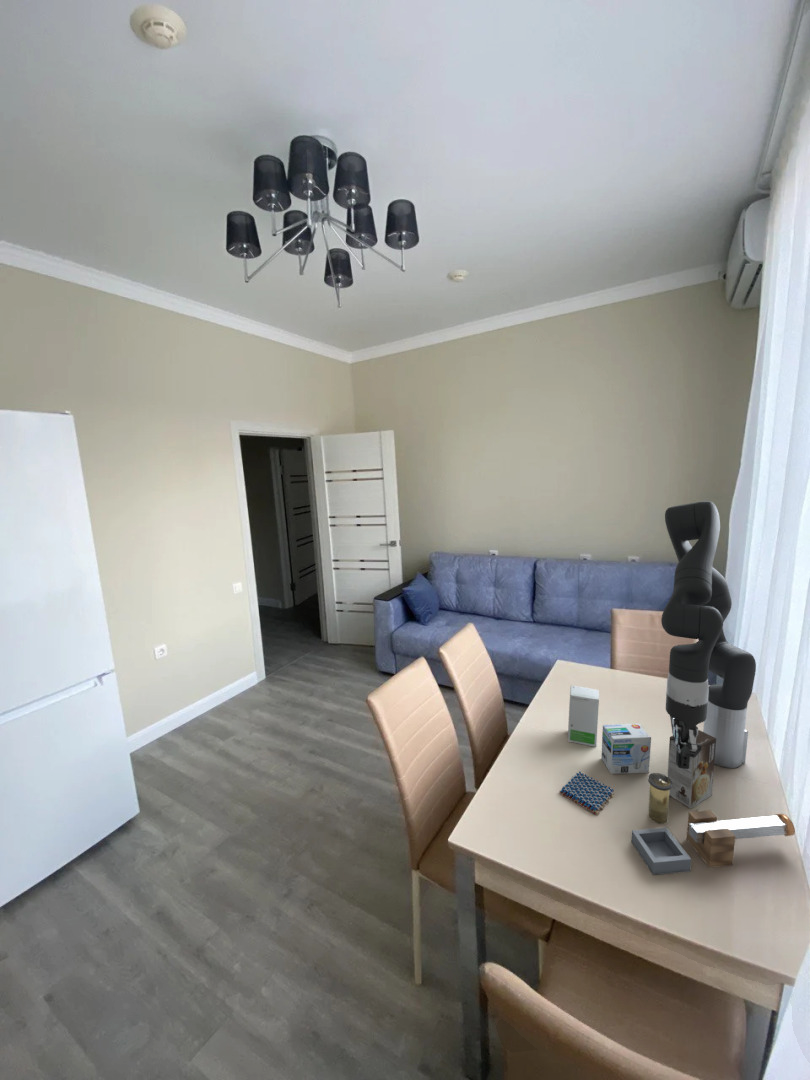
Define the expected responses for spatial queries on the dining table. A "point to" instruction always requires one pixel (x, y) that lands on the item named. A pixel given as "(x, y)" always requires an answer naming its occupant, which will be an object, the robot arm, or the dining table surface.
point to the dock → (660, 851)
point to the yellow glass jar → (659, 797)
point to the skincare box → (583, 715)
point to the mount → (712, 841)
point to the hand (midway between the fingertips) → (682, 766)
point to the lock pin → (746, 827)
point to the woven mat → (587, 792)
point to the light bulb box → (626, 748)
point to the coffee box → (693, 772)
